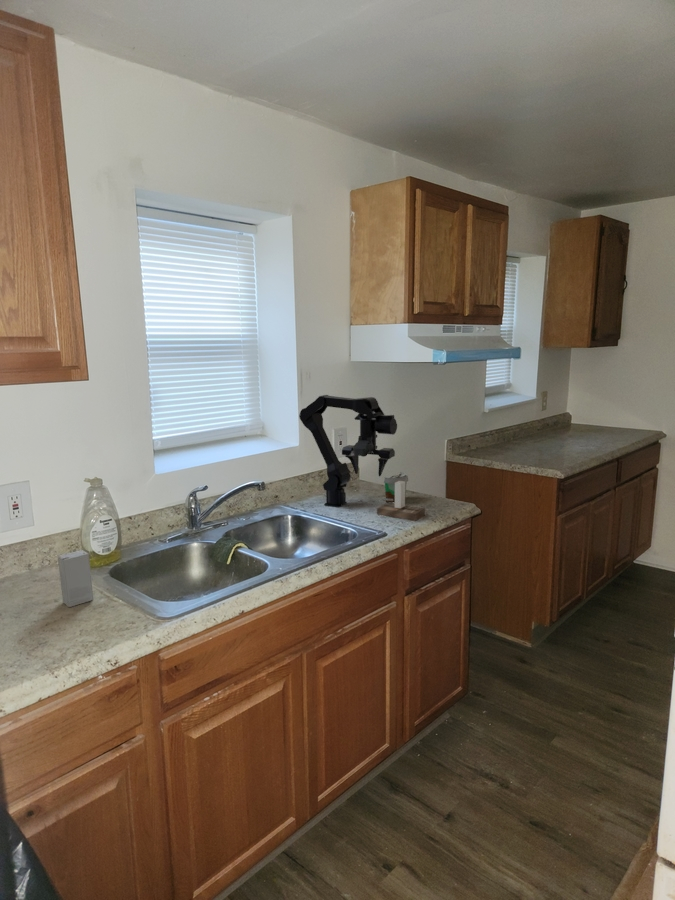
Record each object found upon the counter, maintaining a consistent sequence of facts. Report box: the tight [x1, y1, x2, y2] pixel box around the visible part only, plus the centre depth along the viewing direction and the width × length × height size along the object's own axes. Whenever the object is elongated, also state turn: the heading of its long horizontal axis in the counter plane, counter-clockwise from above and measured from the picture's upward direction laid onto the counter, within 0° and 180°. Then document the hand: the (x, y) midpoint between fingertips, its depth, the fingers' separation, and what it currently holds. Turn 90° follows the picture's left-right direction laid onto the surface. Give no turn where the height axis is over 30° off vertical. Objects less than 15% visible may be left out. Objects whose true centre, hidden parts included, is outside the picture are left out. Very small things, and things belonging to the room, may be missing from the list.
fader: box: [394, 481, 406, 508], centre depth 210 cm, size 2×4×9 cm
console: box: [376, 502, 426, 522], centre depth 211 cm, size 15×8×3 cm, turn 58°
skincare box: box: [57, 549, 94, 608], centre depth 142 cm, size 6×4×12 cm
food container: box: [383, 471, 409, 503], centre depth 229 cm, size 12×6×10 cm, turn 143°
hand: (368, 474), depth 216 cm, fingers open, 9 cm apart
